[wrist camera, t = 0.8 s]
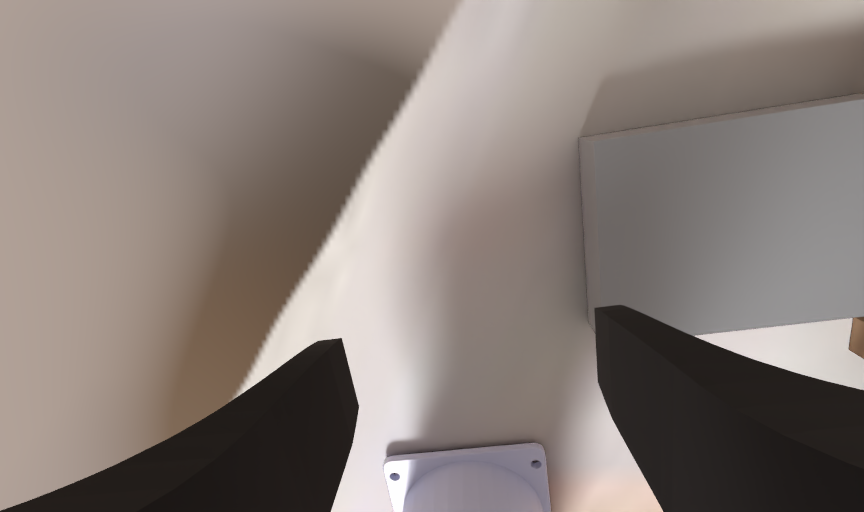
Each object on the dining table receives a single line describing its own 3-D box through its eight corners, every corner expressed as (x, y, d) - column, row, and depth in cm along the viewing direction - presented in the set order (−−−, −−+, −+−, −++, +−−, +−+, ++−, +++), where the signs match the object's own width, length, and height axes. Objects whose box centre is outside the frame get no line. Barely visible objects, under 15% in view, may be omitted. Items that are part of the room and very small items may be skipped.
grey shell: (831, 293, 18) (874, 315, 17) (588, 322, 19) (602, 345, 17) (858, 93, 16) (912, 91, 14) (578, 137, 17) (593, 141, 15)
